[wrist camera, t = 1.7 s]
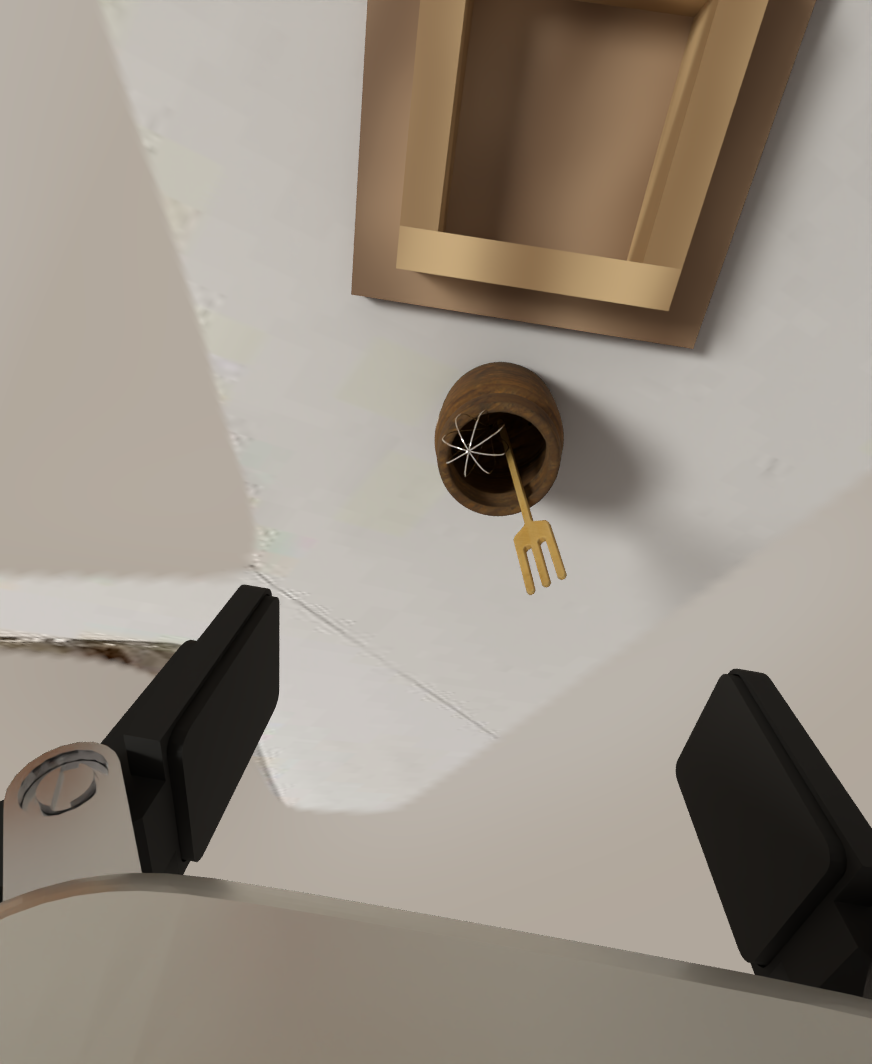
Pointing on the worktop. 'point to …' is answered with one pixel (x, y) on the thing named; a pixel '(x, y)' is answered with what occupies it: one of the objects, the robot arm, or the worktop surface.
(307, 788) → the worktop surface
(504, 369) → the utensil holder
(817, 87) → the worktop surface
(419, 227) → the socket board
